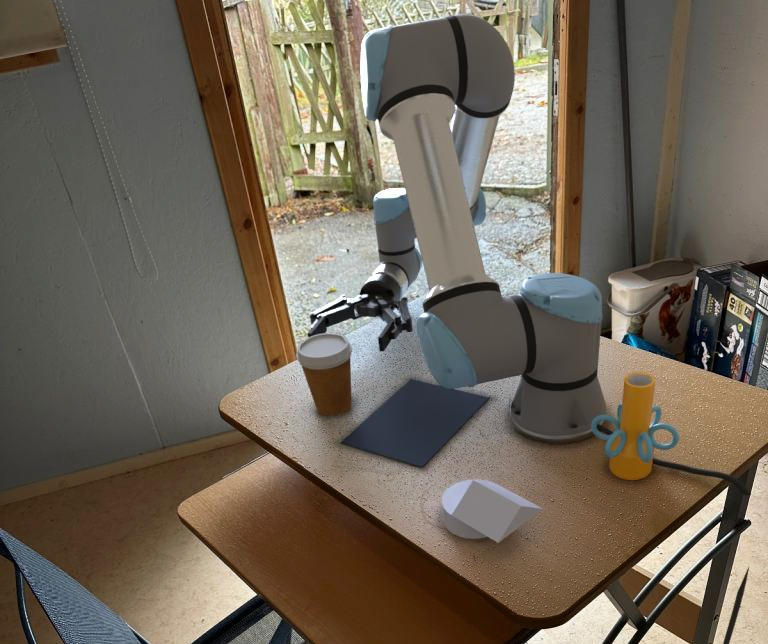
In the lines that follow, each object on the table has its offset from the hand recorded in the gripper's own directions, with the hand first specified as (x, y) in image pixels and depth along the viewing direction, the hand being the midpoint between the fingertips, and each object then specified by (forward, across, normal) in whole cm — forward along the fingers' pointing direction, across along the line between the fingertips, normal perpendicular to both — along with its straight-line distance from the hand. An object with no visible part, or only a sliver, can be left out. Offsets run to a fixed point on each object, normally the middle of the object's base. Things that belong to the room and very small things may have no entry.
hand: (345, 342), depth 138 cm
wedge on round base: (+34, -34, -8) cm, 49 cm away
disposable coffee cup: (+9, 0, -8) cm, 12 cm away
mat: (+11, -16, -8) cm, 21 cm away
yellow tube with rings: (+18, -51, -8) cm, 55 cm away
